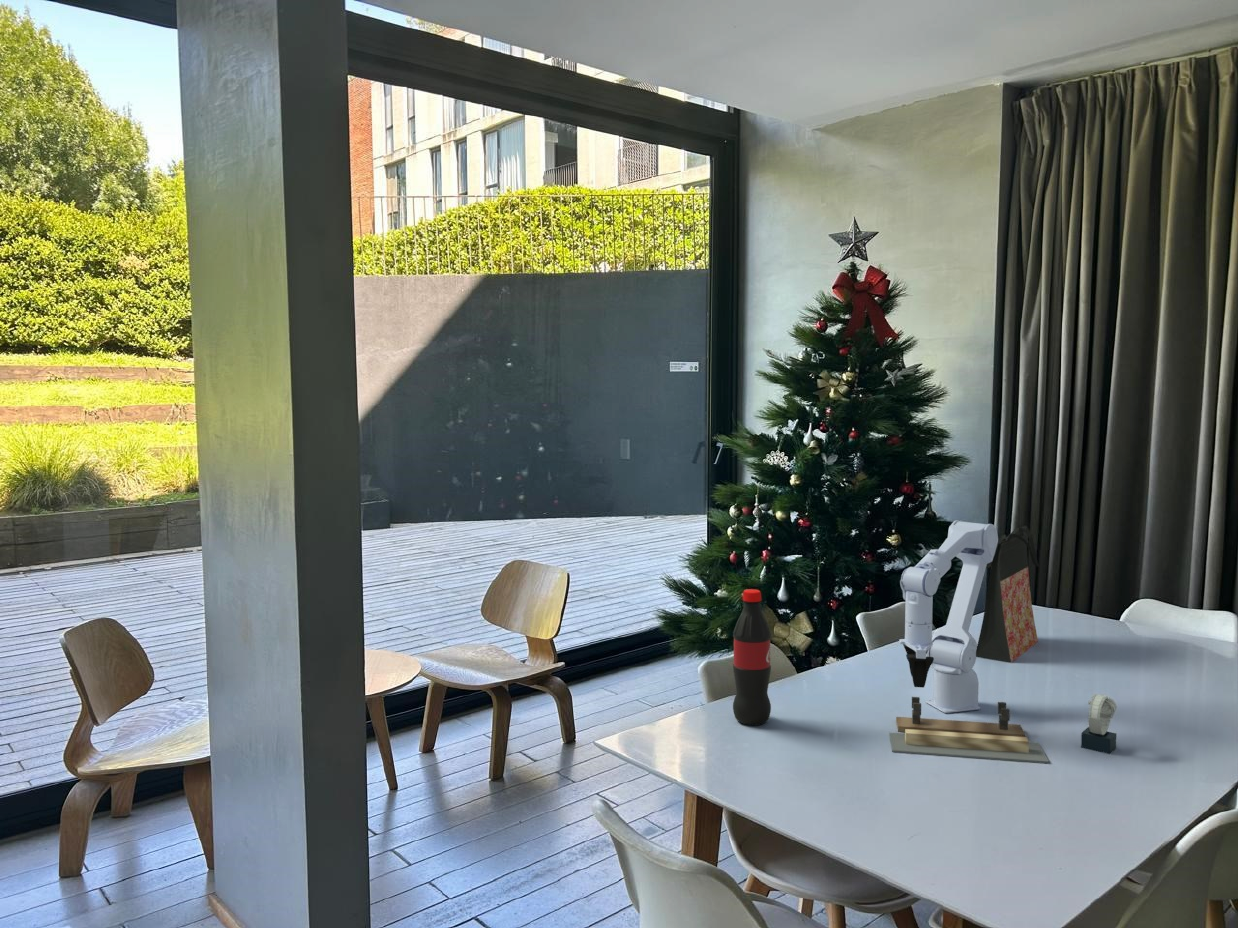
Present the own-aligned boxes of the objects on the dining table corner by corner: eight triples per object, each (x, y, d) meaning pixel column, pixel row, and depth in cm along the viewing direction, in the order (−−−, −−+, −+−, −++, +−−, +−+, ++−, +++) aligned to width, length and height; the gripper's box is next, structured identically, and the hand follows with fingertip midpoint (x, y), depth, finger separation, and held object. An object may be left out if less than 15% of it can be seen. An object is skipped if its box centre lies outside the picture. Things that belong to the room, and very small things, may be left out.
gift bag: (1022, 664, 253) (1025, 535, 250) (968, 655, 262) (971, 530, 259) (1051, 640, 276) (1055, 522, 273) (1001, 633, 284) (1004, 518, 281)
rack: (1020, 729, 206) (1020, 702, 205) (1025, 740, 200) (1026, 711, 199) (896, 721, 211) (896, 694, 211) (898, 731, 206) (898, 703, 205)
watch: (1118, 745, 197) (1120, 693, 196) (1107, 756, 191) (1109, 703, 190) (1089, 738, 200) (1091, 688, 200) (1077, 749, 195) (1079, 697, 194)
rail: (1026, 748, 194) (1026, 737, 194) (1028, 752, 192) (1028, 741, 192) (904, 739, 200) (905, 728, 200) (905, 744, 197) (905, 732, 197)
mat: (1038, 744, 197) (1038, 742, 197) (1048, 763, 188) (1048, 761, 188) (889, 734, 204) (889, 732, 204) (892, 751, 194) (892, 749, 194)
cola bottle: (775, 717, 215) (775, 587, 213) (764, 729, 207) (765, 595, 205) (739, 712, 219) (739, 584, 216) (728, 724, 211) (727, 592, 208)
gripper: (897, 612, 217) (896, 670, 218) (902, 628, 203) (901, 690, 204) (929, 614, 215) (928, 672, 217) (936, 630, 201) (935, 692, 202)
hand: (917, 681), depth 210 cm, fingers open, 7 cm apart
